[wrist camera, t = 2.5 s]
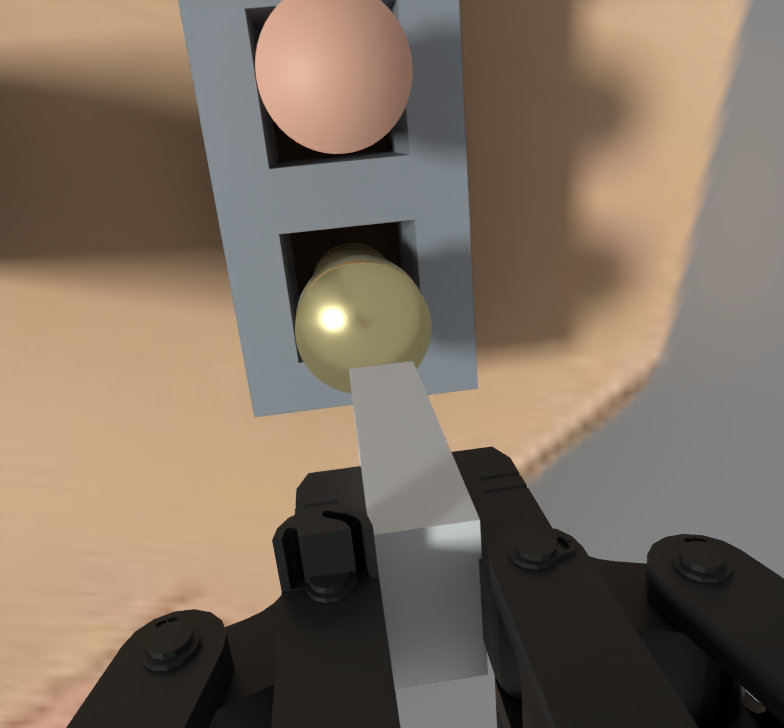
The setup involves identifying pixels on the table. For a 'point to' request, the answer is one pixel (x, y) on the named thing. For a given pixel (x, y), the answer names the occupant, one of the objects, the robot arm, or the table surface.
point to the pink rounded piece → (334, 72)
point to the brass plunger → (359, 315)
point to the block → (335, 196)
